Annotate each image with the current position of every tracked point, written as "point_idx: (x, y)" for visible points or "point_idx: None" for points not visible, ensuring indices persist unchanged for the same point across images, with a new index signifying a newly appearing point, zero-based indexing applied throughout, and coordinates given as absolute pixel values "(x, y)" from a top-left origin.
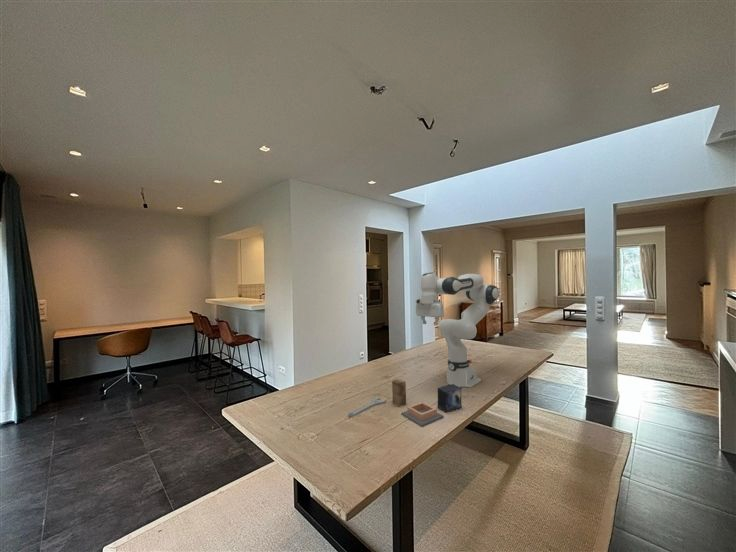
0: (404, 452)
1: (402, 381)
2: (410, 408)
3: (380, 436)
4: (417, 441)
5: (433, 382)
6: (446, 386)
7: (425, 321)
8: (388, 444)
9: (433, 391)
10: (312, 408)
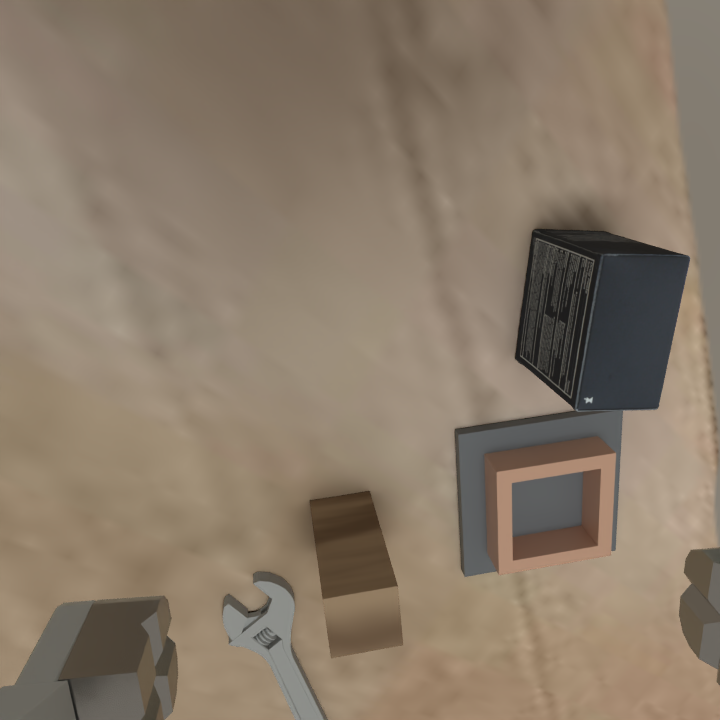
0: (690, 675)
1: (386, 604)
2: (522, 569)
3: (557, 709)
4: (673, 609)
5: (114, 59)
6: (605, 341)
7: (145, 702)
8: (618, 702)
9: (292, 207)
10: None
